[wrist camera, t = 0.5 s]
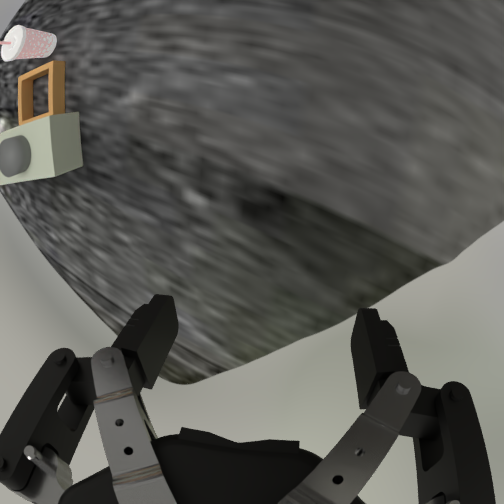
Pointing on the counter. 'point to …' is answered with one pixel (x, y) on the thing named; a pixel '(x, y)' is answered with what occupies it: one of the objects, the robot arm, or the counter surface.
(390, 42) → the counter surface
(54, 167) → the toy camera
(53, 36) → the beverage cup
